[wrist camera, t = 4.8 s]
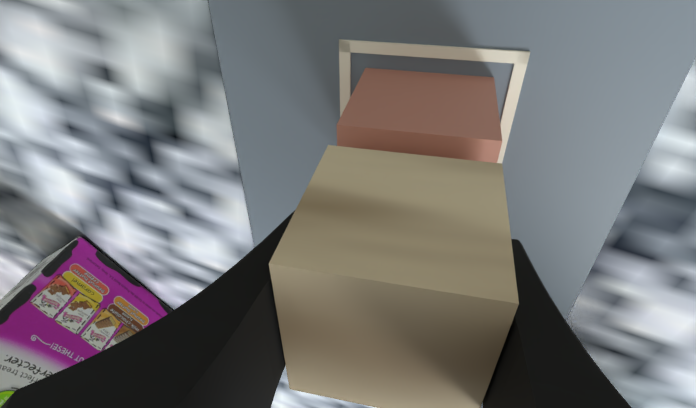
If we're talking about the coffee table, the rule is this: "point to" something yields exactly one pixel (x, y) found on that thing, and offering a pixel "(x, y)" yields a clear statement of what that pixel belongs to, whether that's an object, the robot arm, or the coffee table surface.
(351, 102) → the brick-red base block
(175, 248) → the coffee table surface
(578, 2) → the grey flat plate
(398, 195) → the maple block
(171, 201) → the coffee table surface
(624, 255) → the coffee table surface
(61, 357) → the candy bar box
